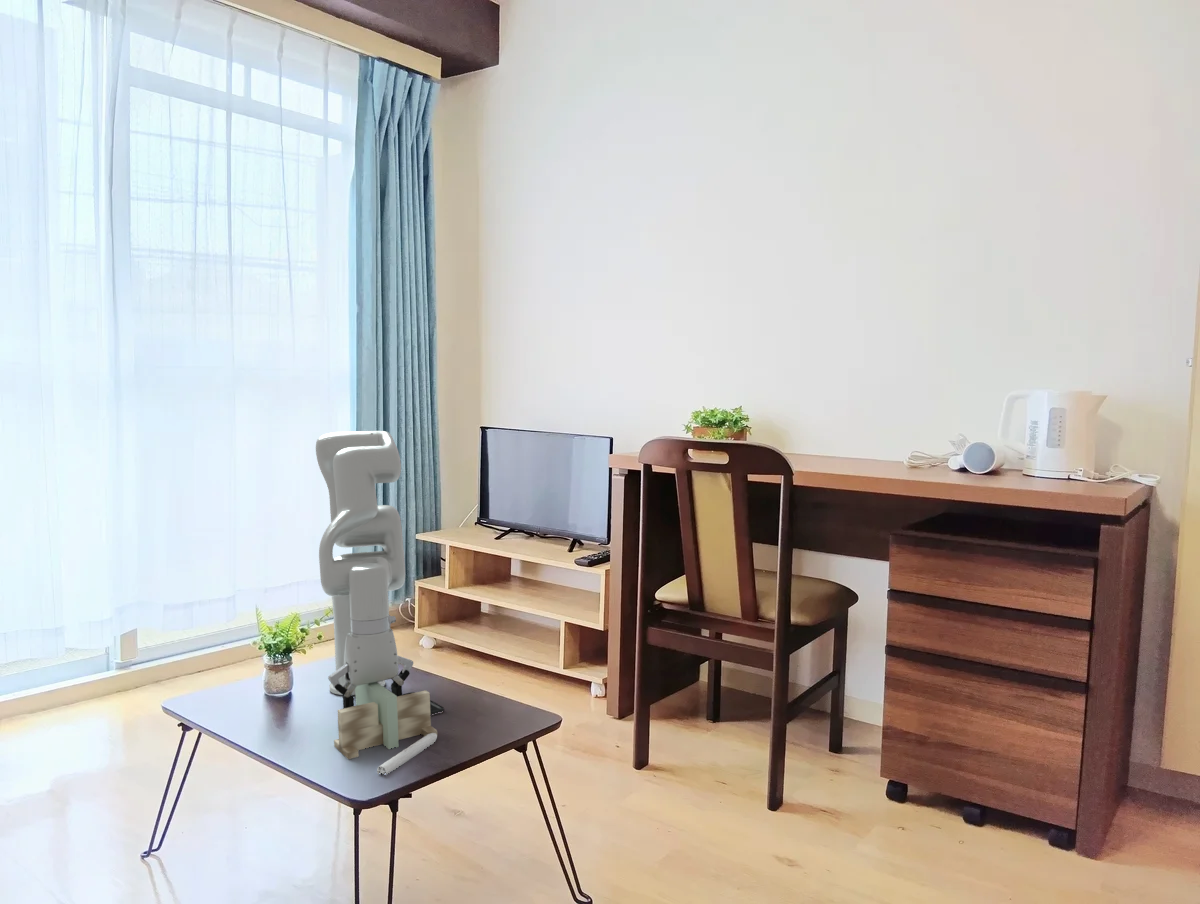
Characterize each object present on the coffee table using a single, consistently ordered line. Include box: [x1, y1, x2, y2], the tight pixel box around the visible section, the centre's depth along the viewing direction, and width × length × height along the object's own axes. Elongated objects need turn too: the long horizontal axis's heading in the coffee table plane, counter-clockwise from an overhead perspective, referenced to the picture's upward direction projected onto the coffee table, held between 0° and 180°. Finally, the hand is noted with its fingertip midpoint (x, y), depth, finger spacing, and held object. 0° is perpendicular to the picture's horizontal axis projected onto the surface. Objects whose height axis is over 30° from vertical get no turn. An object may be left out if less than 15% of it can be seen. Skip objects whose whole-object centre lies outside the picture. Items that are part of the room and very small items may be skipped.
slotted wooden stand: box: [333, 690, 438, 760], centre depth 171 cm, size 18×8×8 cm, turn 125°
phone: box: [402, 691, 445, 715], centre depth 190 cm, size 8×1×15 cm
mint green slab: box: [355, 682, 399, 750], centre depth 174 cm, size 18×2×10 cm, turn 35°
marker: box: [376, 733, 438, 775], centre depth 163 cm, size 18×2×2 cm, turn 158°
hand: (373, 709), depth 176 cm, fingers open, 9 cm apart
